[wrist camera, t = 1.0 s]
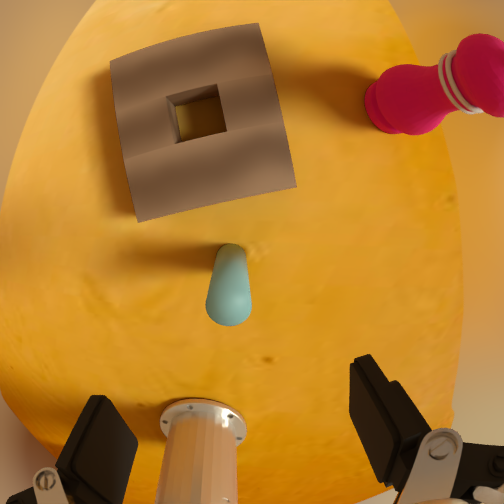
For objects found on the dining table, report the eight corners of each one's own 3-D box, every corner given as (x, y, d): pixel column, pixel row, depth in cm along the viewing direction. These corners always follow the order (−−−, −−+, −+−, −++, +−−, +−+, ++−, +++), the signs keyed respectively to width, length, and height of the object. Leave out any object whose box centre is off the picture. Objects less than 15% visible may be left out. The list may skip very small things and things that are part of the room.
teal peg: (248, 268, 29) (255, 321, 19) (220, 274, 29) (212, 329, 19) (242, 240, 29) (246, 280, 18) (213, 247, 29) (200, 289, 18)
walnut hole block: (288, 185, 27) (296, 187, 23) (150, 216, 27) (138, 222, 23) (255, 40, 23) (258, 22, 19) (124, 73, 23) (109, 61, 19)
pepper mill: (346, 102, 25) (487, 32, 6) (382, 66, 24) (509, -2, 5) (392, 151, 27) (549, 149, 7) (423, 113, 26) (563, 91, 6)
